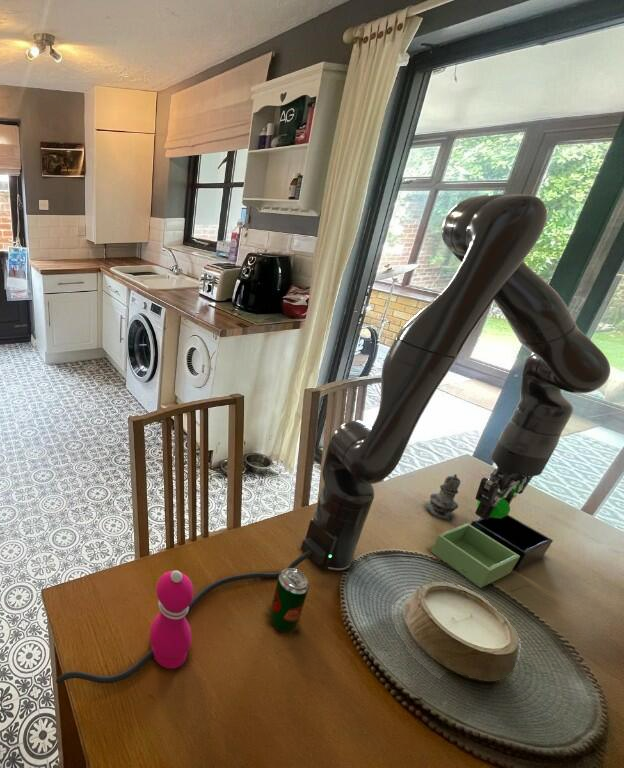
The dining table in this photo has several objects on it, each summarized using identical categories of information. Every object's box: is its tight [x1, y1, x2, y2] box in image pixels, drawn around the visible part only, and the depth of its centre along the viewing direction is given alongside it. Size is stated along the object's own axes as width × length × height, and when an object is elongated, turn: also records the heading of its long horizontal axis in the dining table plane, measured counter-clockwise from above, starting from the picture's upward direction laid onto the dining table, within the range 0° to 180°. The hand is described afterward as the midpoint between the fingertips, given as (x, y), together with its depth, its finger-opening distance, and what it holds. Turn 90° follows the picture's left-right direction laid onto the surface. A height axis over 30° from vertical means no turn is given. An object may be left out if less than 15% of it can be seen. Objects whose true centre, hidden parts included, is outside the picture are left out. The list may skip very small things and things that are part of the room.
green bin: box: [430, 523, 520, 589], centre depth 90 cm, size 10×10×5 cm
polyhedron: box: [476, 496, 511, 519], centre depth 85 cm, size 5×5×5 cm
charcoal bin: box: [470, 514, 554, 571], centre depth 94 cm, size 10×10×5 cm
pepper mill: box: [149, 570, 195, 670], centre depth 69 cm, size 7×7×20 cm
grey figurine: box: [426, 474, 462, 520], centre depth 103 cm, size 6×6×12 cm
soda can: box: [268, 567, 309, 633], centre depth 76 cm, size 5×5×12 cm
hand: (489, 512), depth 86 cm, fingers closed on polyhedron, 5 cm apart
